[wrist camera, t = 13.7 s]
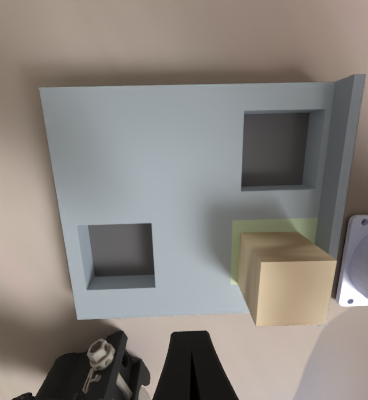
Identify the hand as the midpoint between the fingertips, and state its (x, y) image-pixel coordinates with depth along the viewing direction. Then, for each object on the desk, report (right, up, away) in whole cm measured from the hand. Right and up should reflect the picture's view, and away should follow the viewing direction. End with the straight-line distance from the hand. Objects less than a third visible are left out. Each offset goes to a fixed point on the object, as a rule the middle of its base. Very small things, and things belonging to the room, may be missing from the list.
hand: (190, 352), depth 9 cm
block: (+6, +2, +8) cm, 10 cm away
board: (+1, +5, +9) cm, 10 cm away
